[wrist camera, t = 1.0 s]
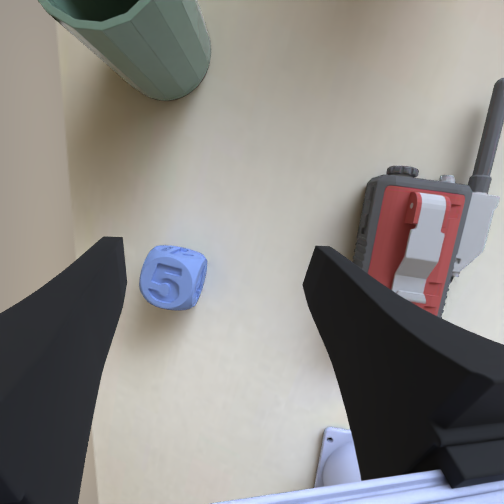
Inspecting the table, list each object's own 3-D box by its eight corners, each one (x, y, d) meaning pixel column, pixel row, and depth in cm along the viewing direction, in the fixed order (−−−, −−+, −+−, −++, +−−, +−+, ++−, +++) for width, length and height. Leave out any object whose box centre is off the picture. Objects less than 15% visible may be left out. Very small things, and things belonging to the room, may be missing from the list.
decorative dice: (210, 254, 25) (199, 262, 21) (200, 299, 26) (187, 315, 22) (164, 242, 25) (144, 249, 21) (155, 287, 26) (134, 301, 22)
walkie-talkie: (442, 343, 25) (506, 87, 22) (478, 372, 21) (565, 57, 17) (336, 327, 25) (384, 73, 22) (349, 352, 21) (411, 40, 18)
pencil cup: (206, 105, 23) (161, 36, 14) (116, 95, 24) (15, 21, 14) (216, 3, 22) (175, -145, 13) (122, -6, 23) (16, -157, 13)
